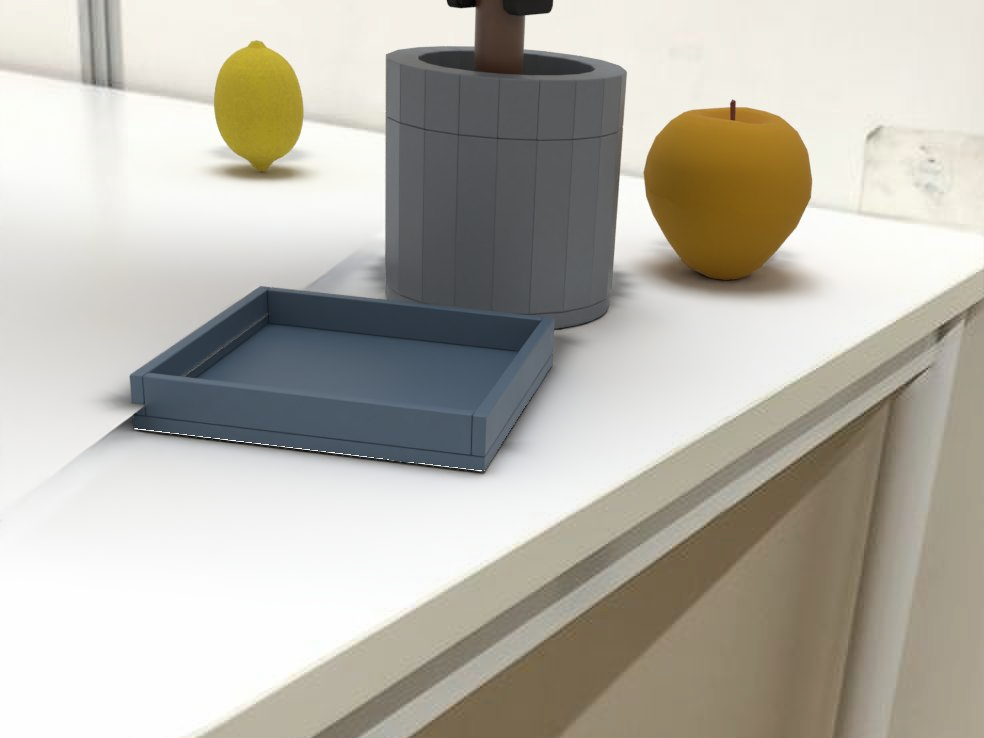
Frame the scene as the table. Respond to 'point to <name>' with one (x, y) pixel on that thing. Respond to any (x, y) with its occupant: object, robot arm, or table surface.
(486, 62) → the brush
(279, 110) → the lemon
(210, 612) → the table surface
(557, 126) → the jar
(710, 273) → the apple
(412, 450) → the tray
